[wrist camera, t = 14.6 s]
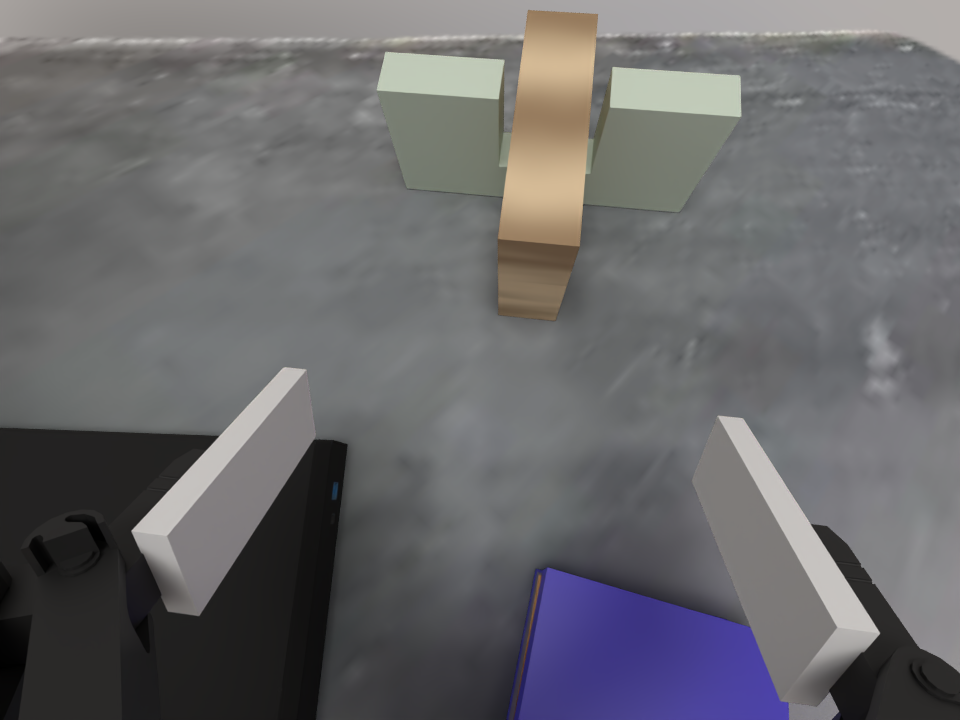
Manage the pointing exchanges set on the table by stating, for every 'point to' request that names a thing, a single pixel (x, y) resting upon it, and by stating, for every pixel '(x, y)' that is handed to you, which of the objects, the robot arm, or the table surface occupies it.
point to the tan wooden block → (546, 164)
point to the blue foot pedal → (633, 659)
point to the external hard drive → (242, 593)
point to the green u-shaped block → (610, 155)
